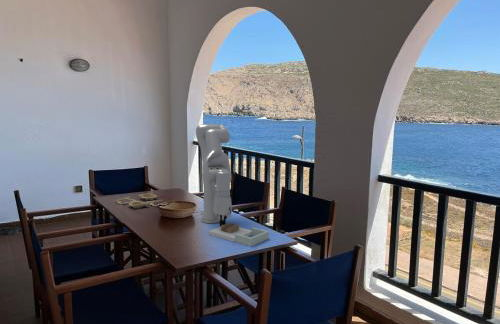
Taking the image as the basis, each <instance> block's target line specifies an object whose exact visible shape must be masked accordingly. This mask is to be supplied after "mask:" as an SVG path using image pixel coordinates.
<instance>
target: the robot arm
mask: <svg viewBox="0 0 500 324" xmlns="http://www.w3.org/2000/svg"><path fill="white" fill-rule="evenodd" d="M195 137H196V140H197V142H198V145H199V147H200V152H201V153H200V155H201V159H202V166H201V167H202V175H201V176H202V177H201V178H202V184H203V211H201V212H200V213H199V215H200V216H201V218H200V221H201V222H202V223H205V224H217V223H219V227H221V225H224V224H227V222H226V221H227V220H228V218H232V217H231V216H232V210H233V207H232V205H233V204H232V198H231V196H230V195H231V182H232V171H231V165H230V158H229V156H228V154H227V153H225V152H223V147H222V144H227V143H229V142H230V139H231V136H230V132H229V130H228V128H227V127H226V126H225V125H224V124H221V123H220V124H215V123H203V124H199V125H197V126H196V128H195Z"/></svg>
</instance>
